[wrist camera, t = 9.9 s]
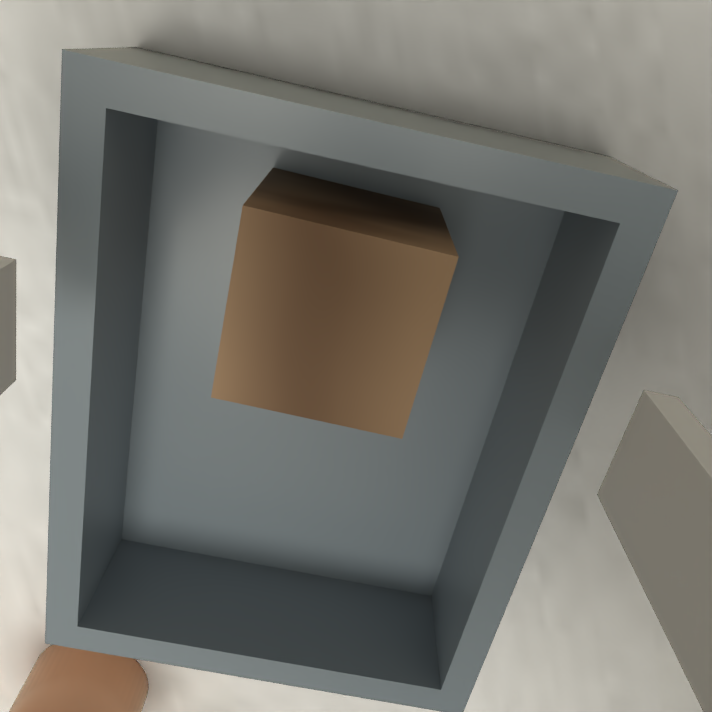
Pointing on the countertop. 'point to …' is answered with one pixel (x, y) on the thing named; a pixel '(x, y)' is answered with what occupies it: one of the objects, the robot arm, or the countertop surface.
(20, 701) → the terracotta cylinder
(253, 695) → the countertop surface
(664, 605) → the robot arm
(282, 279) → the walnut cube
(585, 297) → the slate tote
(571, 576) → the countertop surface
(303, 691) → the countertop surface
